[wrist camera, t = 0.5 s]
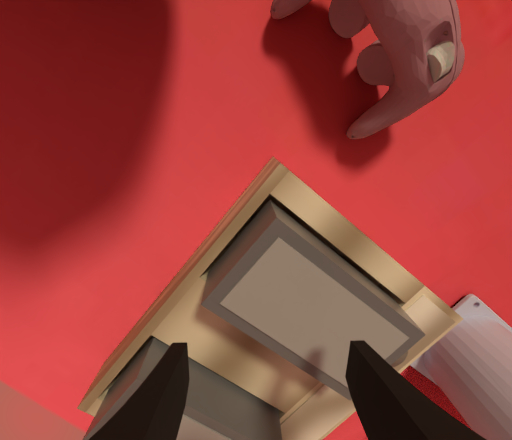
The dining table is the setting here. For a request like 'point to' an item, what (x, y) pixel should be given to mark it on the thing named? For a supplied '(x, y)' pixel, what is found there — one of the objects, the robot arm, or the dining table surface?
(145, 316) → the switch panel
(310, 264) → the key grey
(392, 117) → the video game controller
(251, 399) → the brown block
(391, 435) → the robot arm
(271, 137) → the dining table surface
